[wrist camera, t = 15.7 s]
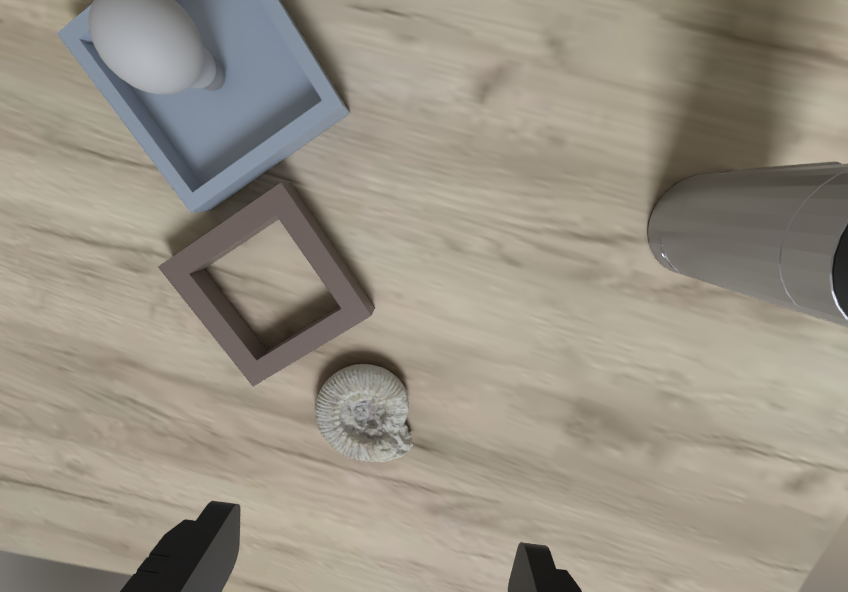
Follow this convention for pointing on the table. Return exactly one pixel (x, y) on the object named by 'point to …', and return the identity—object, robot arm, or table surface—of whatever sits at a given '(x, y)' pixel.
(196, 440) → the table surface
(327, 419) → the fossil
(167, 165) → the tray
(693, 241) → the robot arm
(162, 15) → the lightbulb
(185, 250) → the brownish grey square frame
